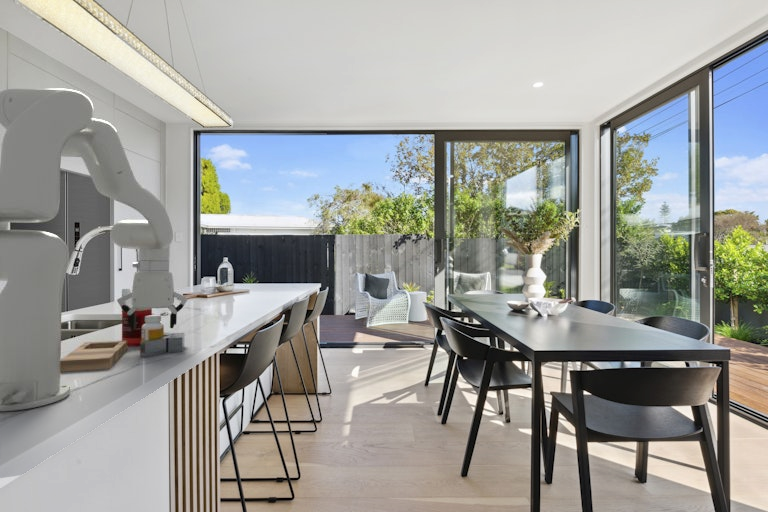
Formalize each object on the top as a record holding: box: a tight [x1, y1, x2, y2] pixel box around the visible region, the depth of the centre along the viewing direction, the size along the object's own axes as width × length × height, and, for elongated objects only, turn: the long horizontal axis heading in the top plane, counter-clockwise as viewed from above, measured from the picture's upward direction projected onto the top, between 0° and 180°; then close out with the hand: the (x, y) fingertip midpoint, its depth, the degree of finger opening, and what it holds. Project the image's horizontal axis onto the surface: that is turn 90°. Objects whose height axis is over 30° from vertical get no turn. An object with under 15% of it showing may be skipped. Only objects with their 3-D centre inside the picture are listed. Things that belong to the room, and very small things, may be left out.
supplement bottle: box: [142, 314, 165, 341], centre depth 118 cm, size 5×5×10 cm
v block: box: [139, 332, 186, 358], centre depth 119 cm, size 10×16×4 cm, turn 21°
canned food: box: [121, 305, 153, 347], centre depth 126 cm, size 8×8×11 cm
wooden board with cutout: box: [60, 340, 128, 373], centre depth 107 cm, size 20×10×2 cm, turn 21°
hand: (153, 328), depth 118 cm, fingers open, 9 cm apart
